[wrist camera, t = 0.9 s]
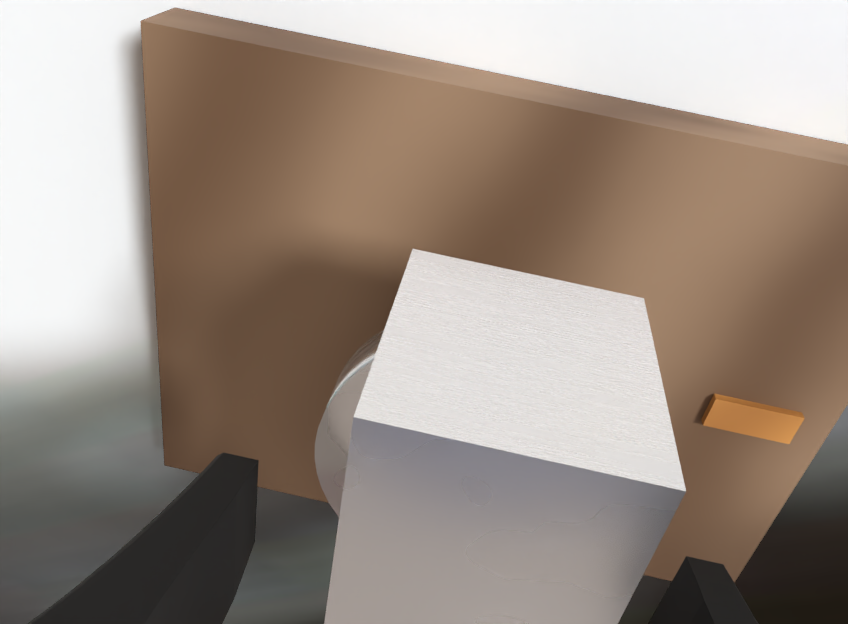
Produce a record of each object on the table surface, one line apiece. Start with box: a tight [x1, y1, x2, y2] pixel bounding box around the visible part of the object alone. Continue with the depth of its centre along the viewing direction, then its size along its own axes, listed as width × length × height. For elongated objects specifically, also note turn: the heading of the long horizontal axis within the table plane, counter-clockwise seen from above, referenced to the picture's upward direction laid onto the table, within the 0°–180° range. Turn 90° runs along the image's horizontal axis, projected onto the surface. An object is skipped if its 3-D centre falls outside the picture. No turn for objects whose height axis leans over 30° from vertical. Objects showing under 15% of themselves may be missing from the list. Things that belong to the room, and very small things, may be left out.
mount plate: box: [141, 8, 848, 582], centre depth 16 cm, size 16×12×4 cm
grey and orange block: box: [315, 249, 686, 624], centre depth 12 cm, size 6×9×5 cm, turn 171°
